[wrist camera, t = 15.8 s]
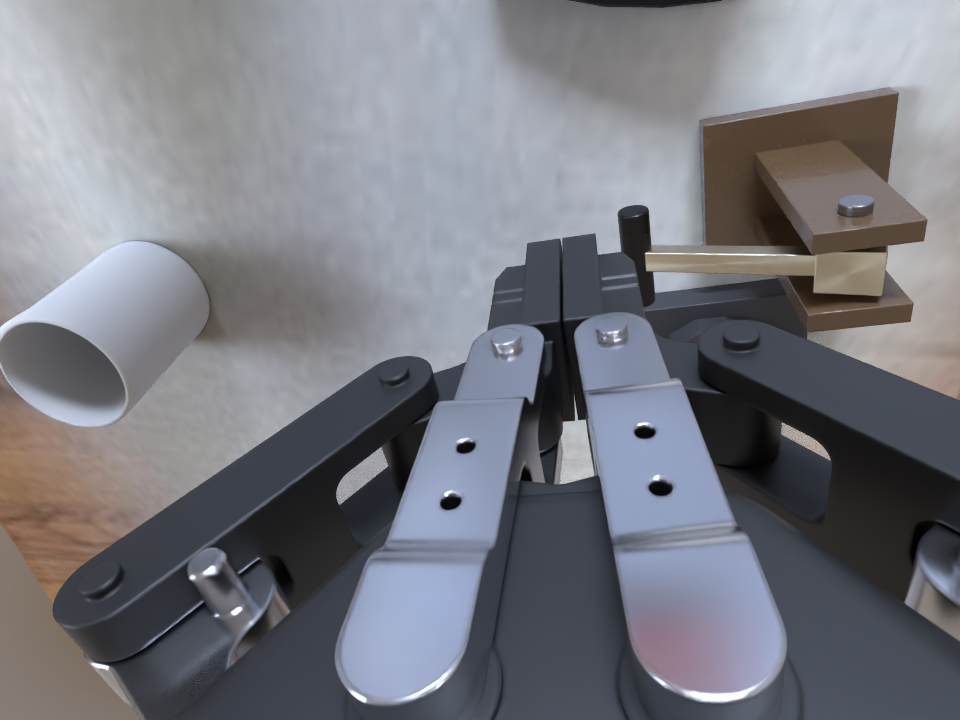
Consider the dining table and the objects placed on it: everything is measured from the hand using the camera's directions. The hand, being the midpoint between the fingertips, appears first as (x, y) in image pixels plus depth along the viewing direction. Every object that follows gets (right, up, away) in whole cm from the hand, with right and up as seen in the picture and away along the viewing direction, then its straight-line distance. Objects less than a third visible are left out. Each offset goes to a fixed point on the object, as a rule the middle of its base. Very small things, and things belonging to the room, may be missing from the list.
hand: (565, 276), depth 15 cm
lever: (+12, +4, +19) cm, 23 cm away
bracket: (+17, +9, +25) cm, 31 cm away
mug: (-28, +3, +36) cm, 45 cm away
